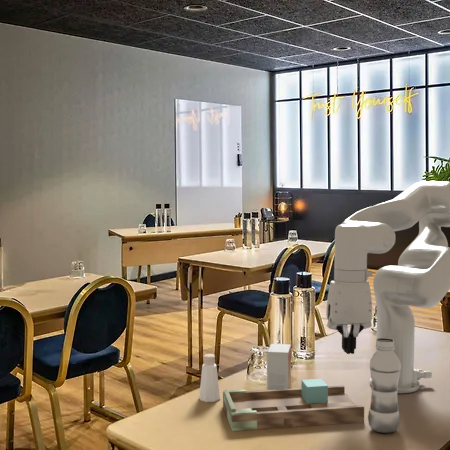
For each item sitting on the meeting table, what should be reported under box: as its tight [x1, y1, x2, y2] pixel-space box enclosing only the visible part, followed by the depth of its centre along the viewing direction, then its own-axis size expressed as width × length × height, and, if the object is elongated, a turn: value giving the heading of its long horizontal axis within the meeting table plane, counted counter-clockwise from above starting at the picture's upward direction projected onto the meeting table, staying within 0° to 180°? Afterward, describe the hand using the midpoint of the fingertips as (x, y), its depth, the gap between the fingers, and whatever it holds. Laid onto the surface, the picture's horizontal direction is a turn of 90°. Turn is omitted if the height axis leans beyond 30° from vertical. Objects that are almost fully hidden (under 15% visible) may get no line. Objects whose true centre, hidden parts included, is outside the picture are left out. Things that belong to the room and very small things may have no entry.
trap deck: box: [222, 384, 365, 432], centre depth 141 cm, size 30×14×4 cm, turn 98°
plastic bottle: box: [367, 338, 401, 434], centre depth 131 cm, size 6×7×20 cm
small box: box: [266, 343, 292, 390], centre depth 158 cm, size 8×6×10 cm
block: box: [300, 378, 329, 404], centre depth 145 cm, size 5×5×4 cm
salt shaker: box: [198, 353, 221, 403], centre depth 151 cm, size 5×5×11 cm
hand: (348, 352), depth 145 cm, fingers closed
